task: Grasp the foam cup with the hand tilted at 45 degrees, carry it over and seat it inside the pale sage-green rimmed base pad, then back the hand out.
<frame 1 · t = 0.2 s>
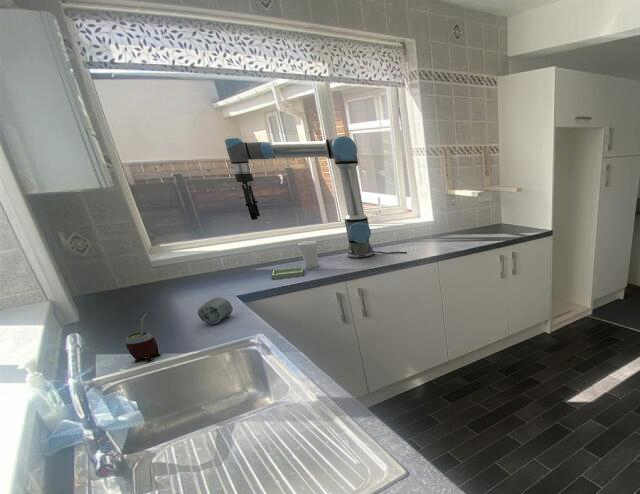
hand: (256, 218, 216), 28 cm above the countertop, tool pointing down, fingers open, 13 cm apart
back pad: (288, 274, 220), on the countertop
grey rolled towel: (219, 320, 162), on the countertop
foam cup: (312, 266, 235), on the countertop
mate gourd: (150, 358, 132), on the countertop
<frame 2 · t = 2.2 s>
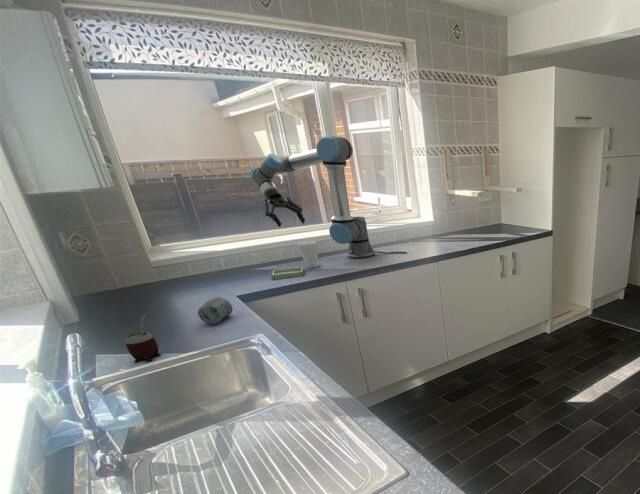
hand: (292, 223, 231), 23 cm above the countertop, tool tilted 45°, fingers open, 13 cm apart
nothing on the countertop moved.
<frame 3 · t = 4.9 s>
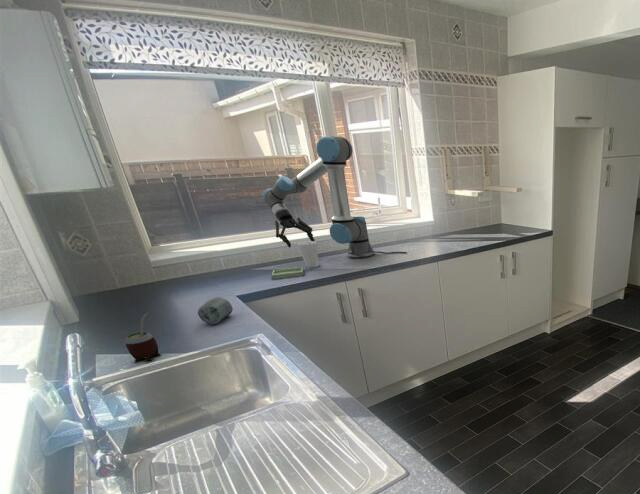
hand: (302, 243, 234), 12 cm above the countertop, tool tilted 45°, fingers open, 13 cm apart
nothing on the countertop moved.
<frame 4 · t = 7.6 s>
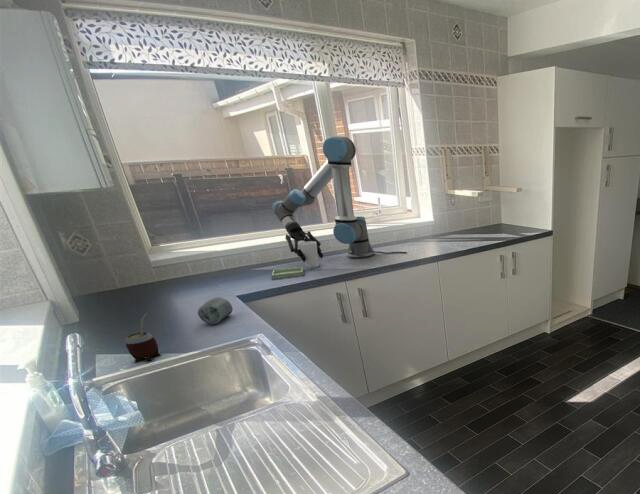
hand: (313, 258, 231), 5 cm above the countertop, tool tilted 45°, fingers closed on foam cup, 9 cm apart
foam cup: (312, 266, 235), on the countertop, touching gripper
everything else where it was.
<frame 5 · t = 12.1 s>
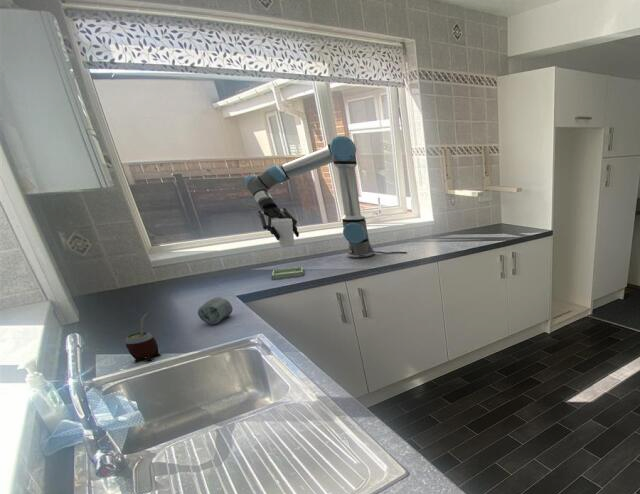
hand: (288, 236, 214), 19 cm above the countertop, tool tilted 45°, fingers closed on foam cup, 9 cm apart
foam cup: (288, 246, 218), point 14 cm above the countertop, touching gripper
everything else where it was.
when the fingers open (5 cm above the countertop, at t = 16.8 s): foam cup stays where it is, resting on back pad.
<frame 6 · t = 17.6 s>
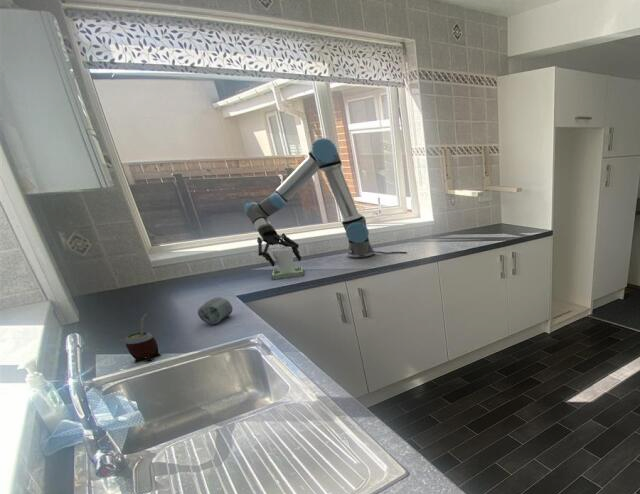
hand: (287, 262, 216), 7 cm above the countertop, tool tilted 45°, fingers open, 13 cm apart
foam cup: (288, 274, 220), resting on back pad
everything else where it was.
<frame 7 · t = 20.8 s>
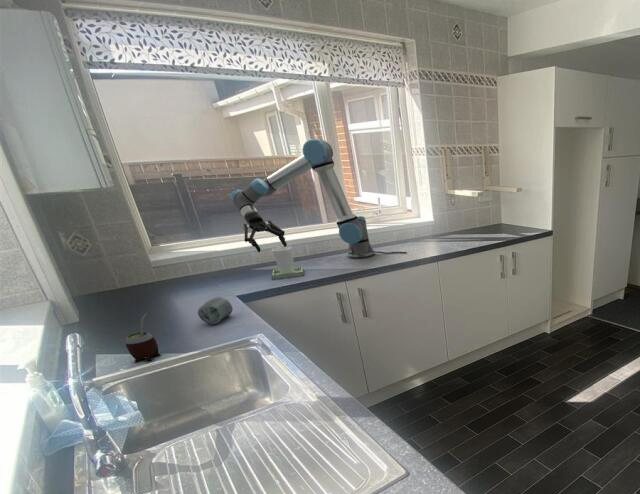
hand: (273, 248, 221), 13 cm above the countertop, tool tilted 45°, fingers open, 13 cm apart
nothing on the countertop moved.
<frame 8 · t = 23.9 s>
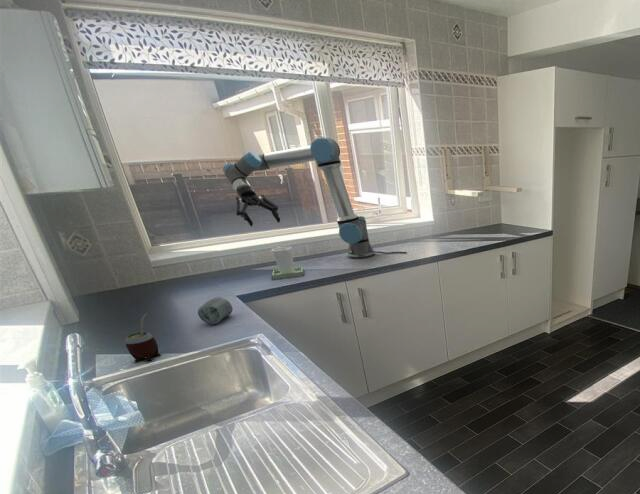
hand: (265, 222, 215), 26 cm above the countertop, tool tilted 45°, fingers open, 13 cm apart
nothing on the countertop moved.
at the end: foam cup 0.1 cm off-centre in the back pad, point 0.4 cm above the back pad's base; foam cup tilted 0°; the gripper is holding nothing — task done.
